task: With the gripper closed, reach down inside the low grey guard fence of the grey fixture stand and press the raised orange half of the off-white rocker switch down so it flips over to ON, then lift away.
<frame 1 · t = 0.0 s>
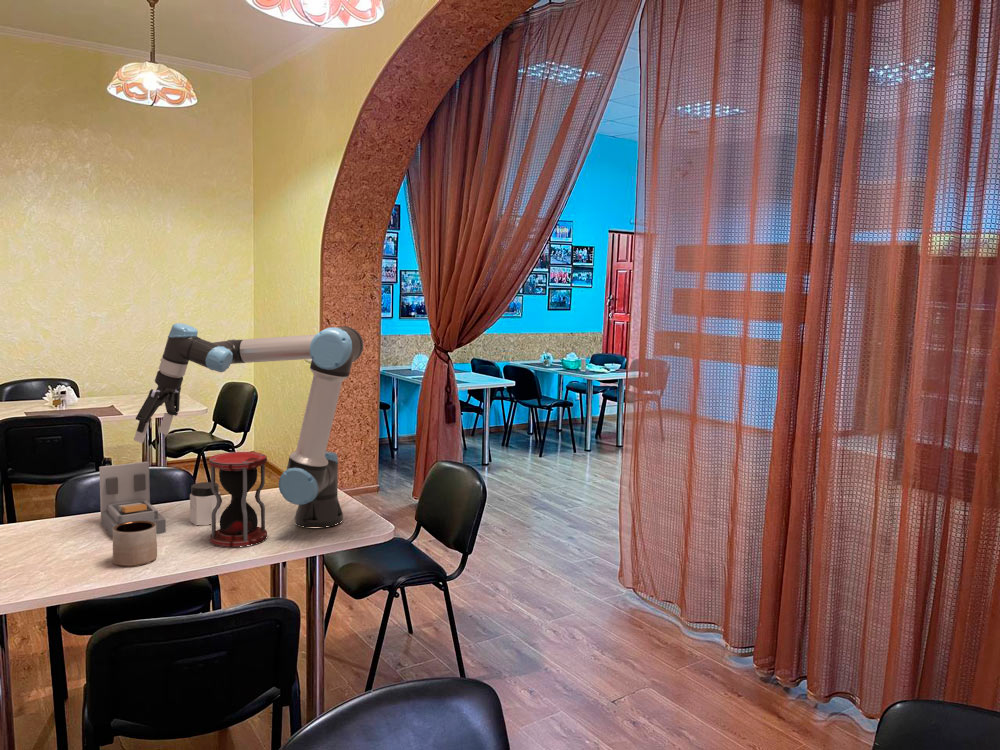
hand: (151, 437, 234), 28 cm above the table, tool tilted 20°, fingers open, 13 cm apart
hourglass: (238, 539, 227), on the table
rocker switch: (132, 508, 234), point 6 cm above the table, hinge at 10.0°
jar: (205, 522, 242), on the table
planter: (135, 561, 207), on the table
grey fixture stand: (132, 527, 235), on the table
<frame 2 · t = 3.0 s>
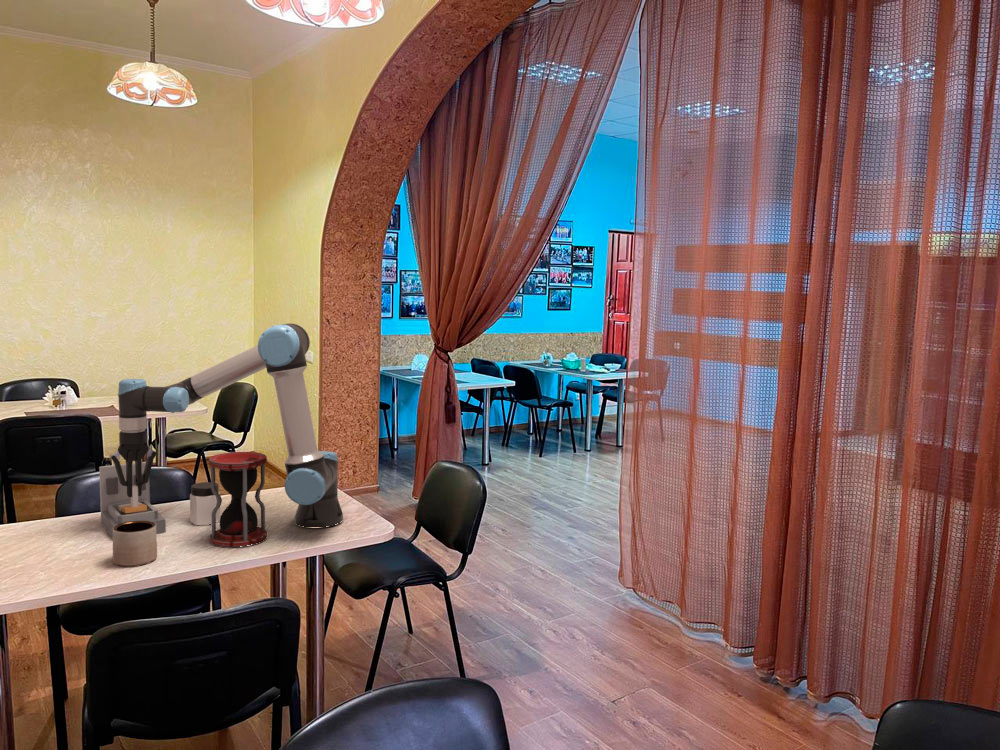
hand: (134, 506, 231), 7 cm above the table, tool pointing down, fingers closed
rocker switch: (132, 508, 234), point 6 cm above the table, hinge at 7.9°, touching gripper
everything else where it was.
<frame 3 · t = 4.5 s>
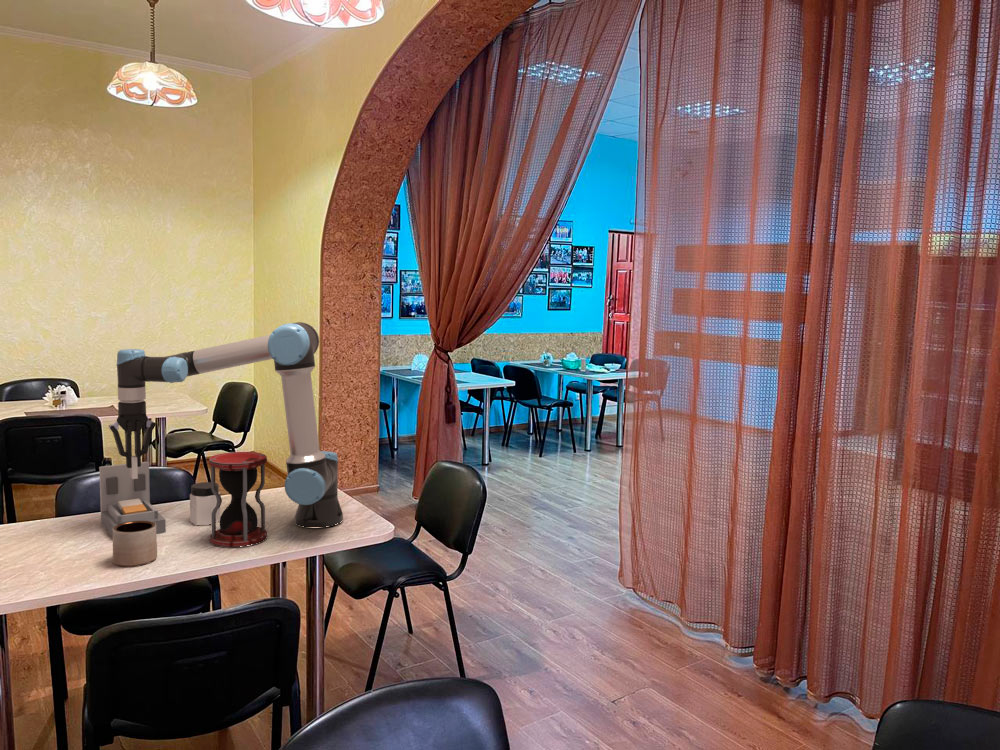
hand: (133, 477, 230), 16 cm above the table, tool pointing down, fingers closed
rocker switch: (132, 508, 234), point 6 cm above the table, hinge at -6.8°
everything else where it was.
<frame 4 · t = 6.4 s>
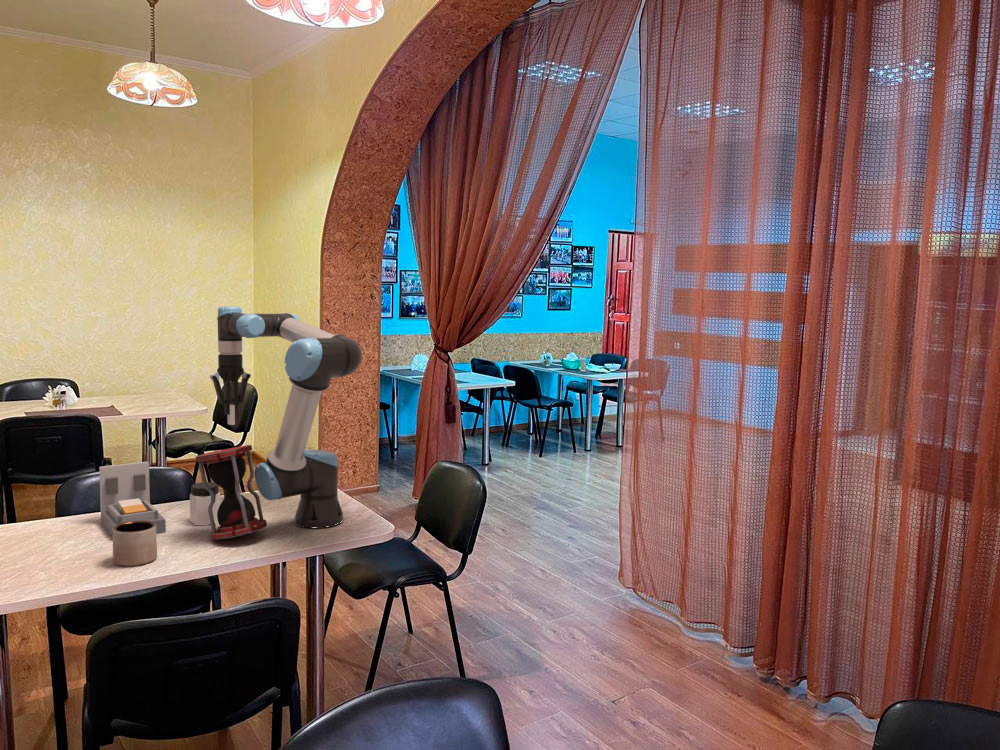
hand: (231, 424, 253), 29 cm above the table, tool pointing down, fingers closed
hourglass: (239, 532, 227), point 2 cm above the table
rocker switch: (132, 508, 234), point 6 cm above the table, hinge at -7.8°
everything else where it was.
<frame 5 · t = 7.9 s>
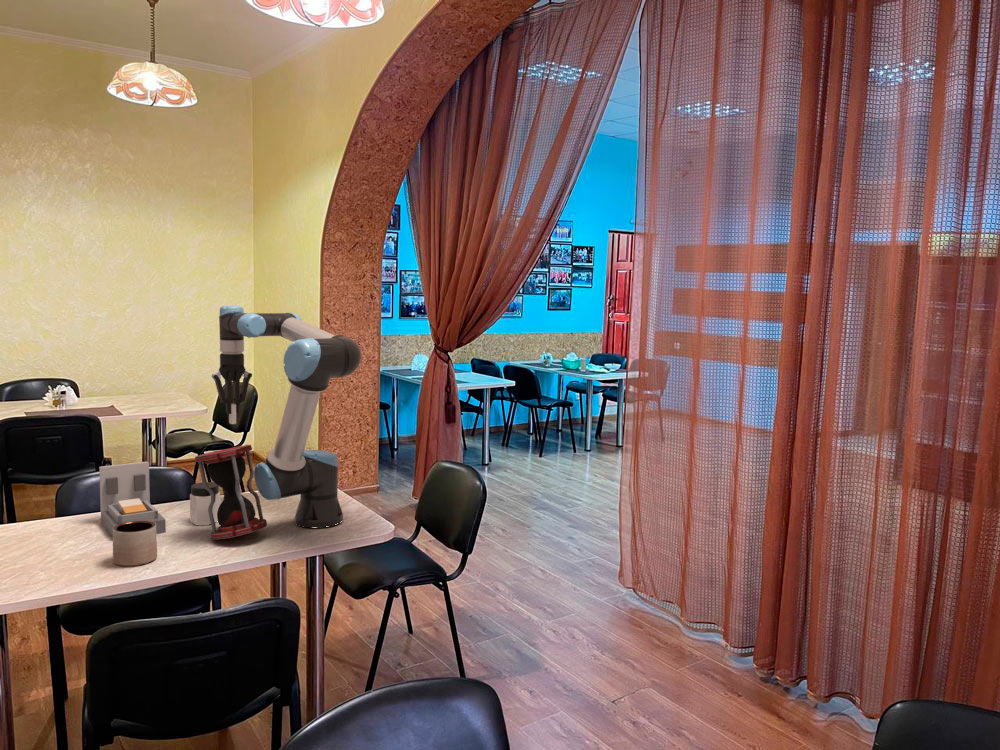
hand: (232, 423, 253), 29 cm above the table, tool pointing down, fingers closed
hourglass: (239, 532, 227), point 2 cm above the table, touching arm
everything else where it was.
at the end: rocker switch at -8° (first picture: +10°); jar moved 0.2 cm from its start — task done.
